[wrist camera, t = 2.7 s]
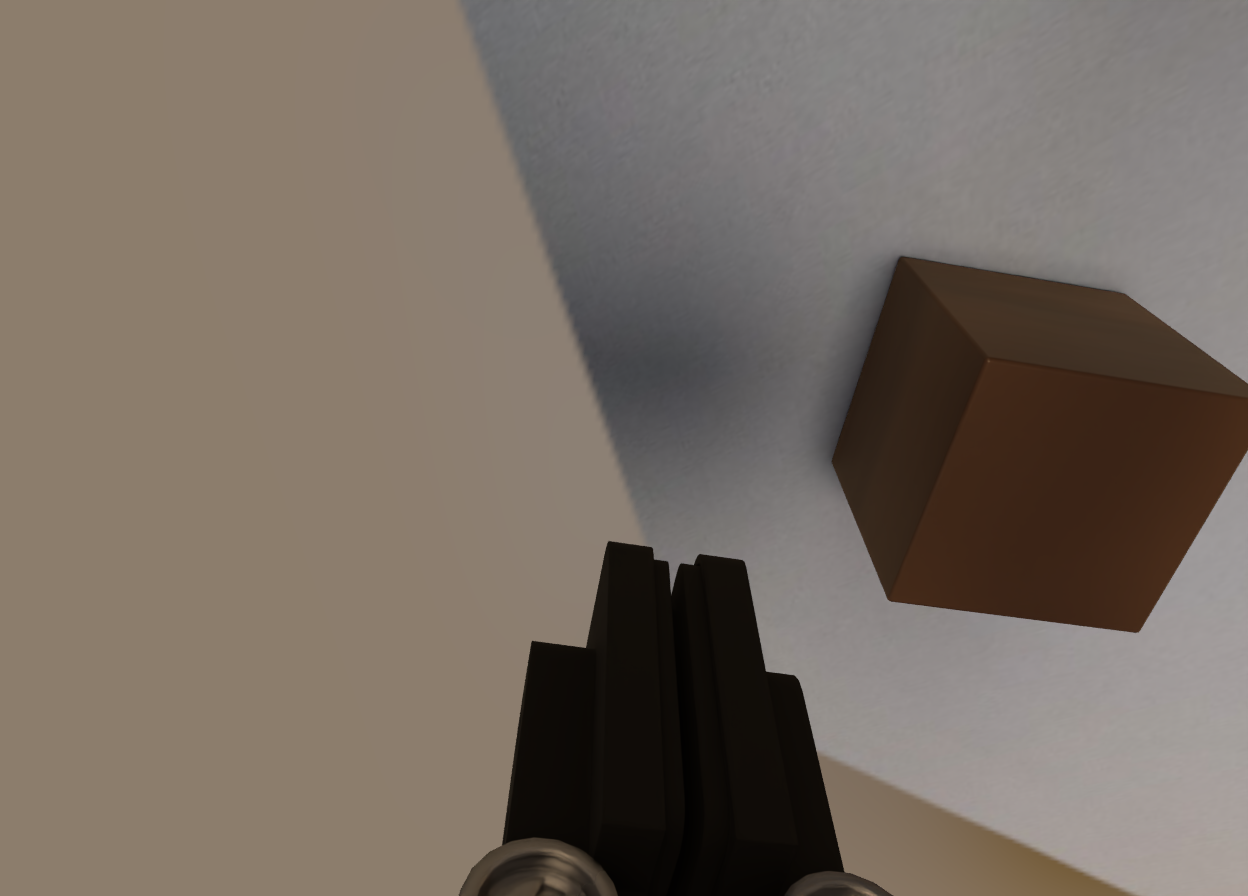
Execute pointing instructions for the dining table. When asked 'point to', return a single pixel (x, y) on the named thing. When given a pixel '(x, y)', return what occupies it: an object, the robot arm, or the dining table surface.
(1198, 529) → the walnut block
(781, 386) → the dining table surface
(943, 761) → the dining table surface
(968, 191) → the dining table surface
